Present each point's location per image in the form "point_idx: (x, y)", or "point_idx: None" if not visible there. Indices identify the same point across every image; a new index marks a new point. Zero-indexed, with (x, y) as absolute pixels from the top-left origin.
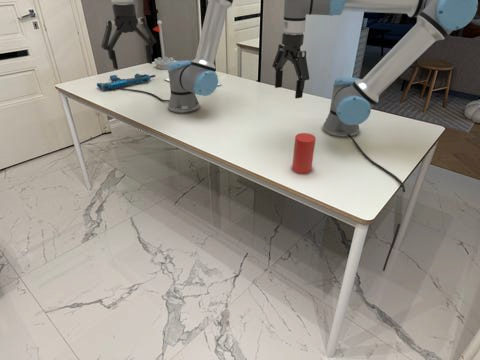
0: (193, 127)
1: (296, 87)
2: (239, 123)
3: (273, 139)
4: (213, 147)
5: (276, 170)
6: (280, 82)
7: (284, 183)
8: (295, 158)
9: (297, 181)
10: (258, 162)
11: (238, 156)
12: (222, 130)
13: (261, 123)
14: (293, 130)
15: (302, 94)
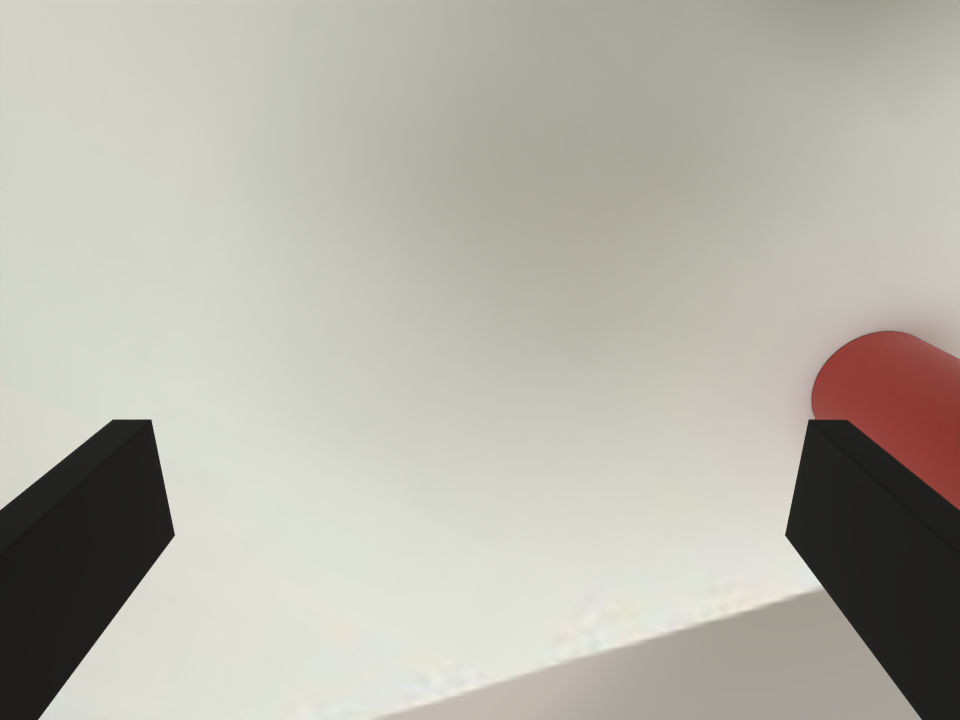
0: None
1: (921, 697)
2: (38, 402)
3: (418, 320)
4: (352, 678)
5: (784, 521)
6: (102, 506)
7: None
8: None
9: None
10: (647, 559)
11: (522, 615)
12: None
13: (88, 242)
14: (335, 56)
15: (879, 447)
